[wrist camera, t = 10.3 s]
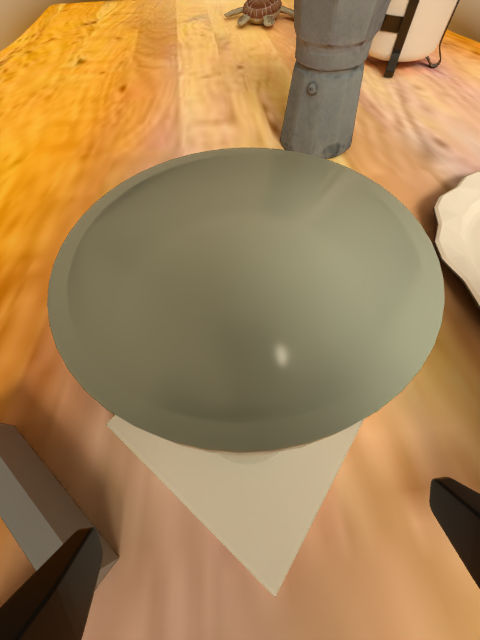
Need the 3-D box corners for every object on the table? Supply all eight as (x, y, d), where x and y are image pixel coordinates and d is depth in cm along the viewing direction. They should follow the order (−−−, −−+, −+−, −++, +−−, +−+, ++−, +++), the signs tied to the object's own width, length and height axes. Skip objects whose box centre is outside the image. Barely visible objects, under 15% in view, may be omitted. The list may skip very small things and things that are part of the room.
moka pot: (265, 169, 31) (287, -224, 13) (285, 111, 38) (315, -188, 21) (350, 178, 29) (495, -248, 12) (352, 115, 37) (444, -200, 20)
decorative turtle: (303, 15, 66) (307, -17, 62) (293, 35, 58) (297, -1, 54) (234, 13, 69) (233, -18, 65) (215, 32, 61) (213, -2, 56)
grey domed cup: (314, 461, 14) (553, 411, 3) (193, 478, 14) (-22, 488, 3) (282, 323, 19) (331, 98, 8) (190, 333, 19) (102, 119, 7)
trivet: (374, 388, 17) (381, 384, 16) (273, 588, 12) (275, 597, 12) (231, 300, 21) (230, 293, 20) (113, 427, 16) (105, 424, 16)
